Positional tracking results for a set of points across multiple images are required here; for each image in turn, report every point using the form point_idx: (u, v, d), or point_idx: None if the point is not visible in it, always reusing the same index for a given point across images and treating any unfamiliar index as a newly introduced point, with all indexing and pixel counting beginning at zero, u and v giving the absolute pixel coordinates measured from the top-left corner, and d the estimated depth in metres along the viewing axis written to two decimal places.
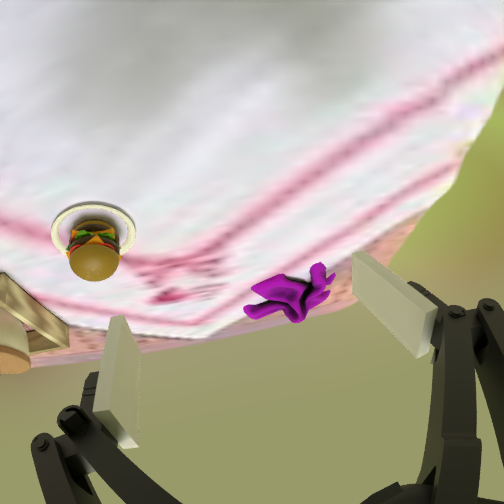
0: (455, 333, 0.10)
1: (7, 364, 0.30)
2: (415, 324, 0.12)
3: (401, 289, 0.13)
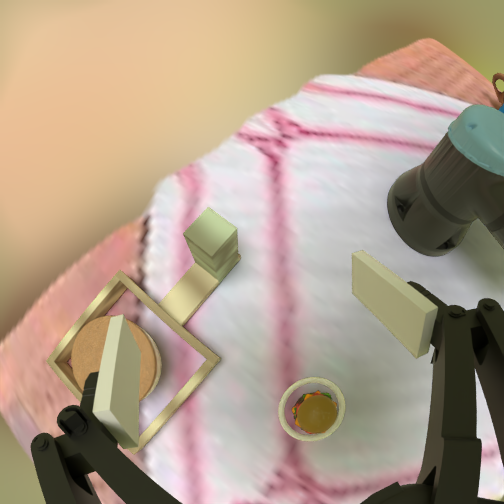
0: (455, 333, 0.10)
1: None
2: (415, 324, 0.12)
3: (401, 289, 0.13)
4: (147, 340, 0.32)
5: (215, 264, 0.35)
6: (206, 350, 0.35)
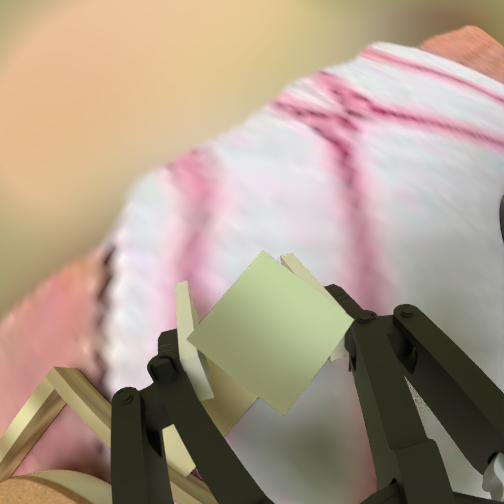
0: (370, 339, 0.11)
1: None
2: None
3: None
4: None
5: None
6: None
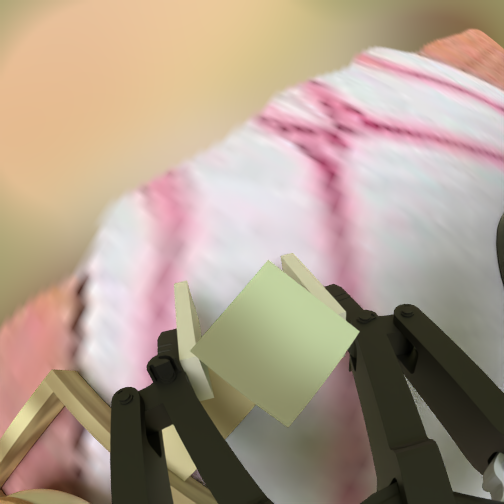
0: (370, 339, 0.11)
1: None
2: None
3: (314, 292, 0.14)
4: None
5: None
6: None
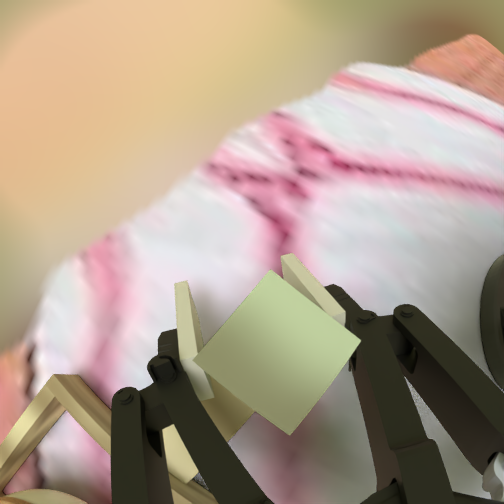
0: (370, 339, 0.11)
1: None
2: None
3: (314, 292, 0.14)
4: None
5: None
6: None
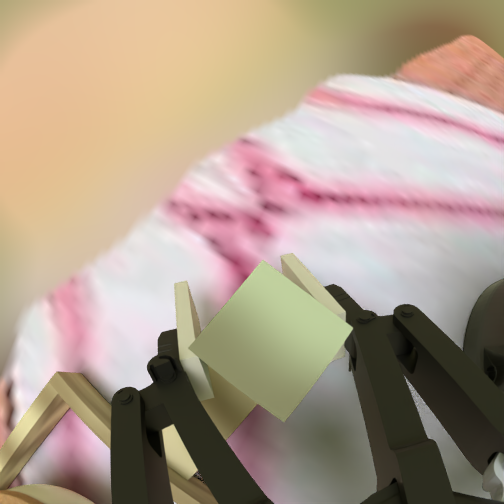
0: (370, 339, 0.11)
1: None
2: None
3: (314, 292, 0.14)
4: None
5: None
6: None
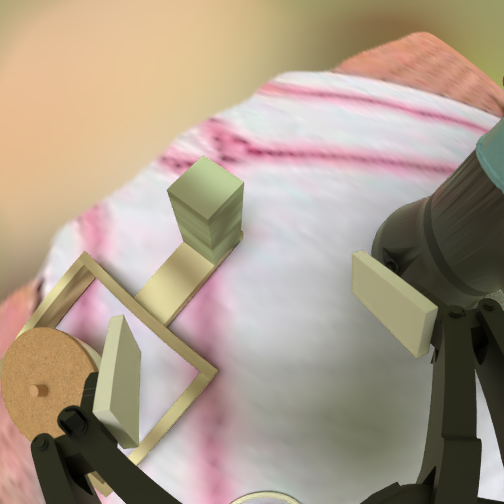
0: (455, 333, 0.10)
1: (57, 409, 0.18)
2: (415, 324, 0.12)
3: (401, 289, 0.13)
4: (85, 354, 0.21)
5: (212, 236, 0.24)
6: (199, 359, 0.25)
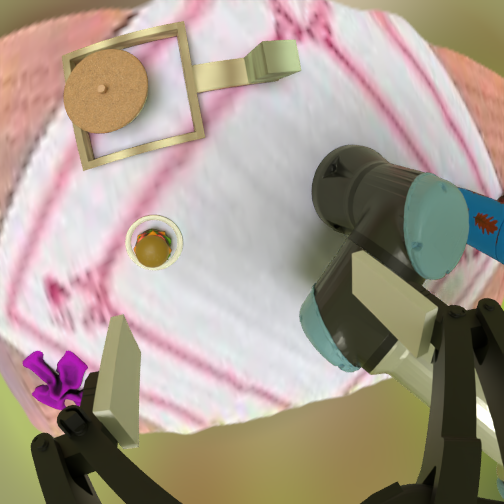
0: (455, 333, 0.10)
1: (104, 105, 0.31)
2: (415, 324, 0.12)
3: (401, 289, 0.13)
4: (146, 84, 0.31)
5: (262, 76, 0.34)
6: (201, 125, 0.38)
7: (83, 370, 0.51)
